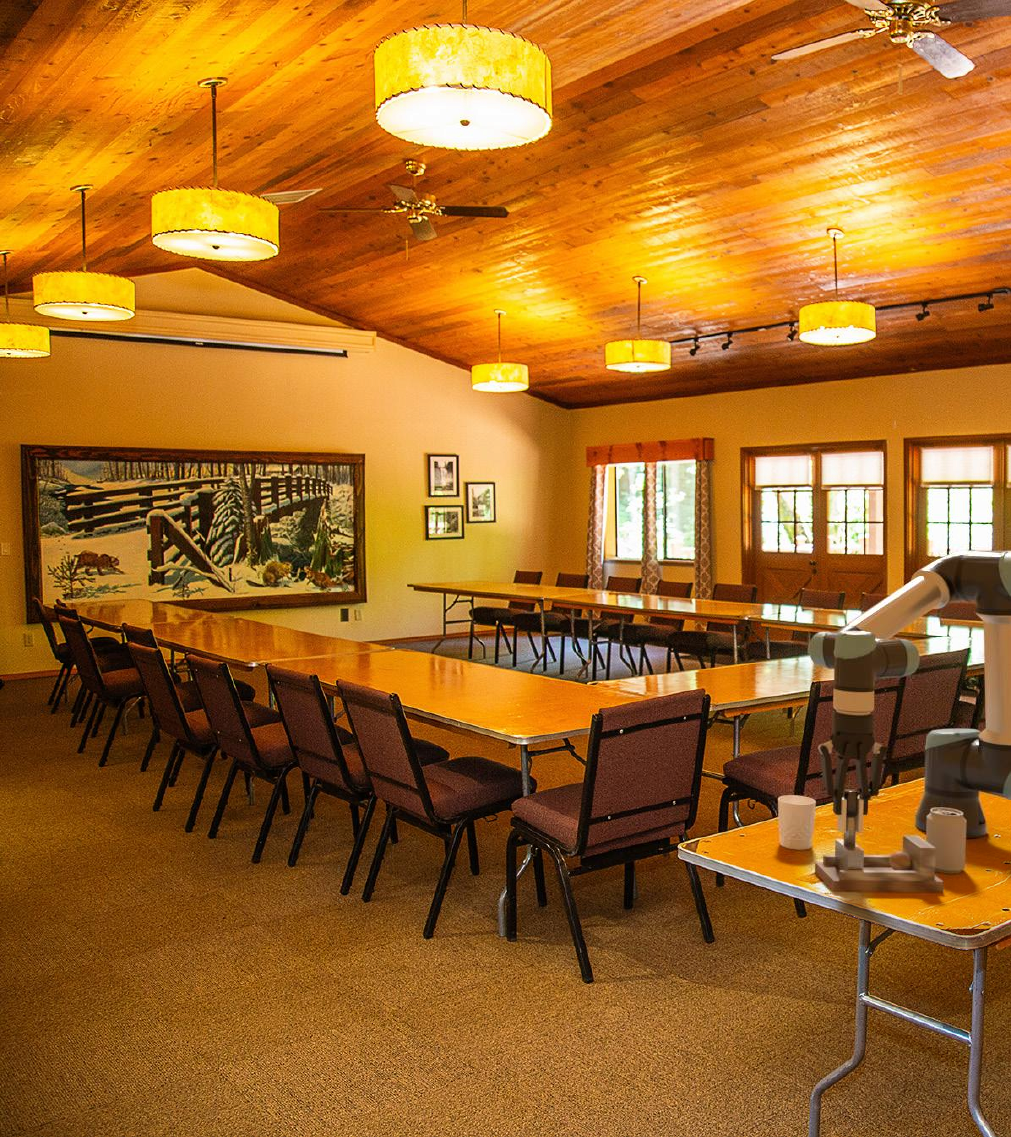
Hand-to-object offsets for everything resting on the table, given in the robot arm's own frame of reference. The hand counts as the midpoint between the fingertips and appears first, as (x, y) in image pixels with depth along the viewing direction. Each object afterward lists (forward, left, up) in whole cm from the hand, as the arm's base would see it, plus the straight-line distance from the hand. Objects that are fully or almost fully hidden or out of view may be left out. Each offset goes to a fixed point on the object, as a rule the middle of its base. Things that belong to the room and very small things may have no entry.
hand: (849, 830), depth 202 cm
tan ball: (-10, 0, -8) cm, 13 cm away
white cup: (+3, -23, -10) cm, 25 cm away
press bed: (-6, 0, -10) cm, 12 cm away
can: (-23, -8, -10) cm, 26 cm away
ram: (0, 0, -8) cm, 8 cm away
